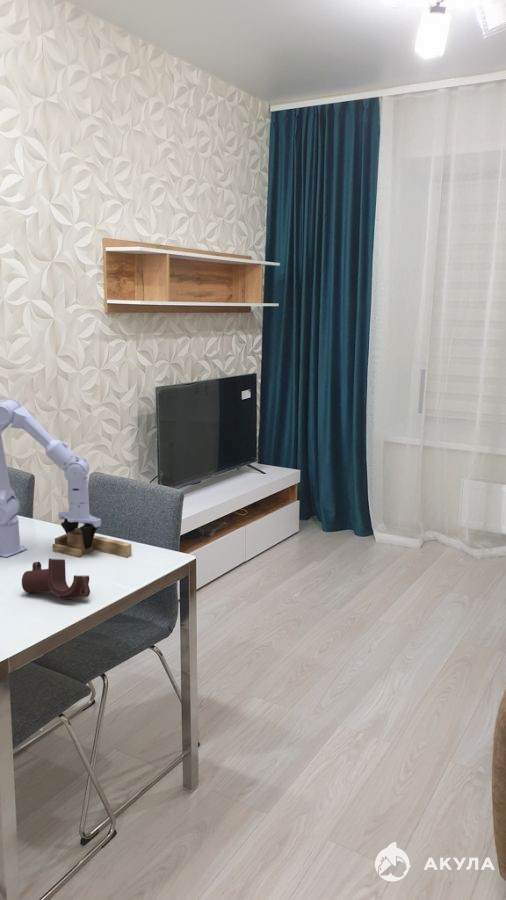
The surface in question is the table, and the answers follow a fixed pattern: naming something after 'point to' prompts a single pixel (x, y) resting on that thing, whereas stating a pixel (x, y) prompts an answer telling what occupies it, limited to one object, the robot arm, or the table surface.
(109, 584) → the table surface
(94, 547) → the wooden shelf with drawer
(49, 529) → the table surface
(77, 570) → the table surface
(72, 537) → the cabinet
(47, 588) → the bracket
